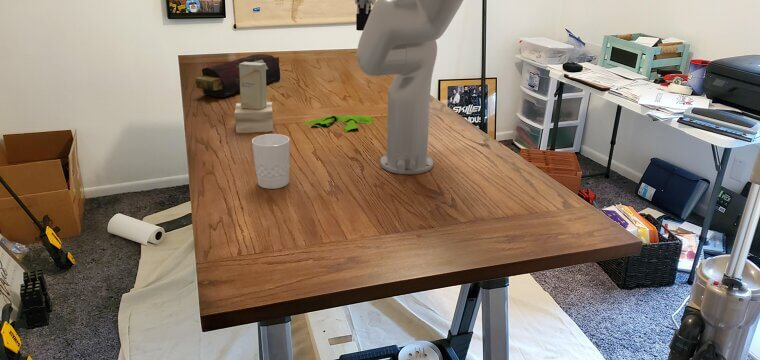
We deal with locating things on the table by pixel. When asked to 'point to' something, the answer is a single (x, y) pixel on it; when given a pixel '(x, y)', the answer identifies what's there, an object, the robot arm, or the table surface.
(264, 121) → the maple block
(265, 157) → the white cup
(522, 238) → the table surface
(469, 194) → the table surface
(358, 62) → the robot arm
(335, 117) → the cloth
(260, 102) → the skincare box
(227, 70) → the packaged item
